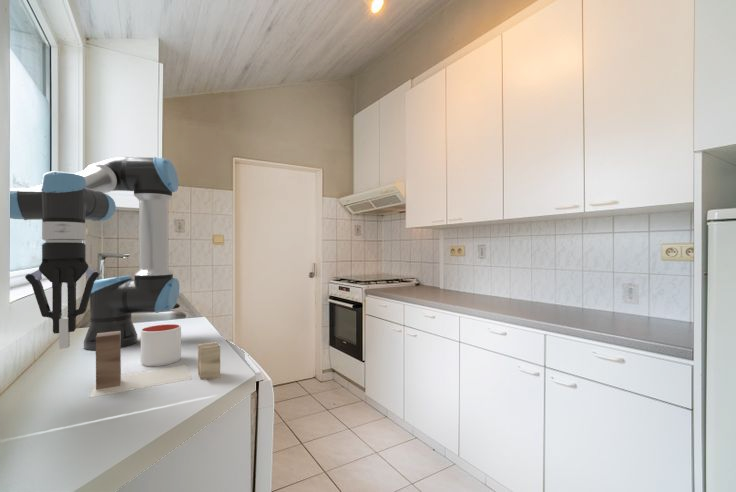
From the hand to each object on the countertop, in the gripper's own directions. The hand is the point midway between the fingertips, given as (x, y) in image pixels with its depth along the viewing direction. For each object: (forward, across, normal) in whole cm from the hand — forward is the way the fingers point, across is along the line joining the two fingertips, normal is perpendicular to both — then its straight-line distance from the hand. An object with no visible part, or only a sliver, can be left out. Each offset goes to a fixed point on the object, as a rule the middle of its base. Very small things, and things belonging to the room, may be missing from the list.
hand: (64, 347), depth 81 cm
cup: (+11, +20, +14) cm, 27 cm away
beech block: (+11, +29, -6) cm, 31 cm away
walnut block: (+10, +8, 0) cm, 13 cm away
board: (+11, +15, 0) cm, 18 cm away
